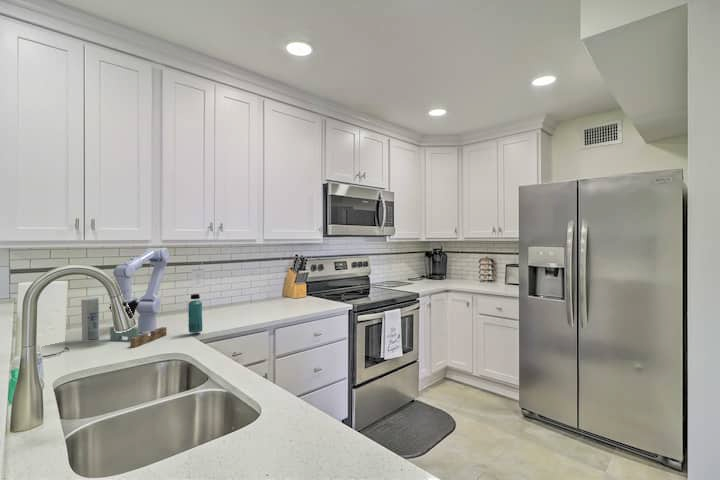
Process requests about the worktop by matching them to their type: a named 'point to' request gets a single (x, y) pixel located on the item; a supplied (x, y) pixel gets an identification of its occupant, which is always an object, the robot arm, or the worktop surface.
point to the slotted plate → (124, 333)
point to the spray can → (90, 319)
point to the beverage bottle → (195, 315)
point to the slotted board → (147, 337)
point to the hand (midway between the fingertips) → (124, 319)
